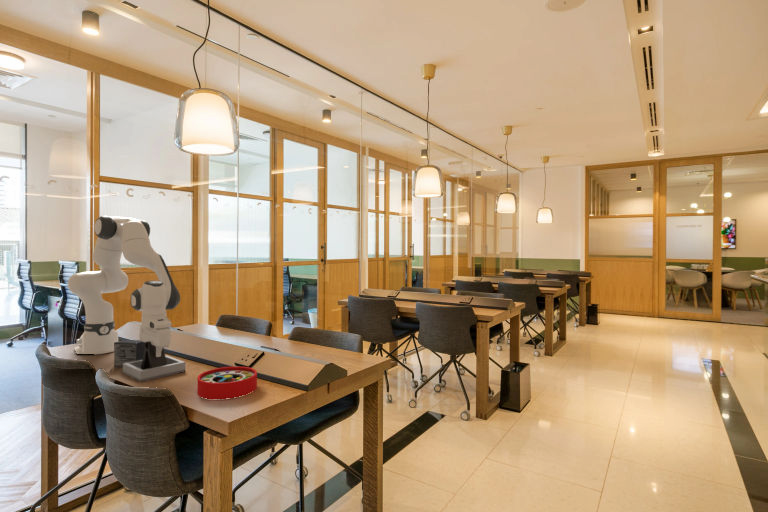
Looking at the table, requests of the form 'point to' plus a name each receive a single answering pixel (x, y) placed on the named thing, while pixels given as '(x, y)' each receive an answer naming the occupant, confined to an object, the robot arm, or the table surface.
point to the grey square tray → (153, 369)
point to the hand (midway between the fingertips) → (154, 355)
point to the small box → (128, 351)
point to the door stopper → (152, 357)
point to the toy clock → (226, 382)
